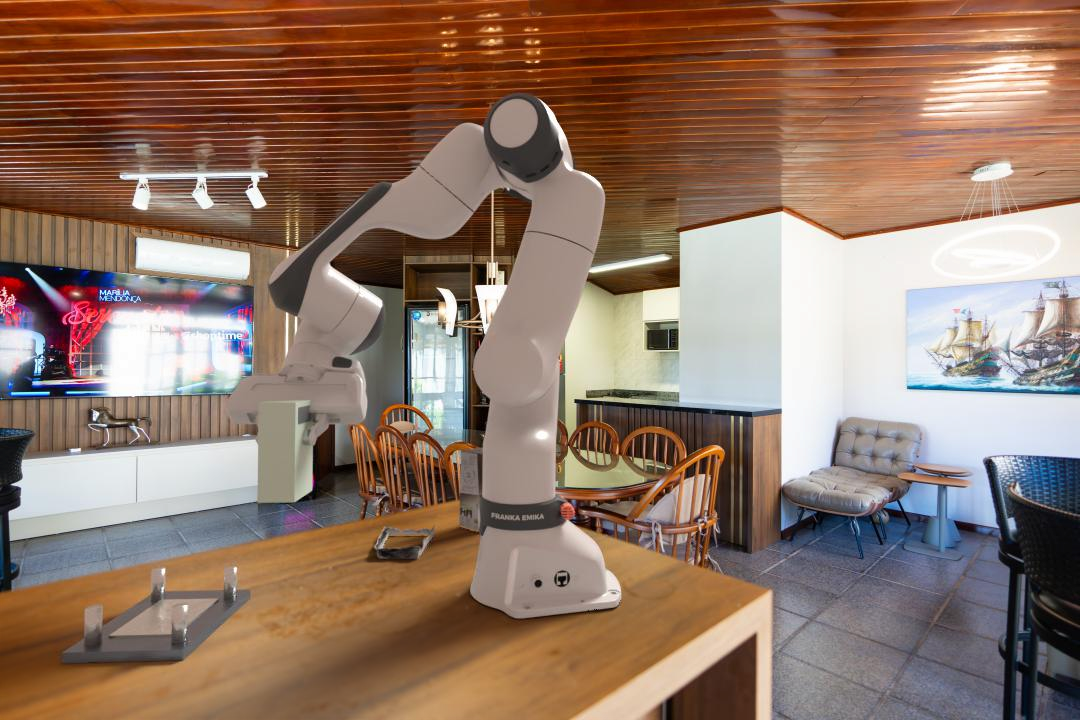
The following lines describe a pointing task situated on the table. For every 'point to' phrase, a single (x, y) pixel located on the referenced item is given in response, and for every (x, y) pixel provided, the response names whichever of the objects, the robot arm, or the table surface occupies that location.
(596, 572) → the robot arm
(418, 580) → the table surface
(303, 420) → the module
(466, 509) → the coffee box
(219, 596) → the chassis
